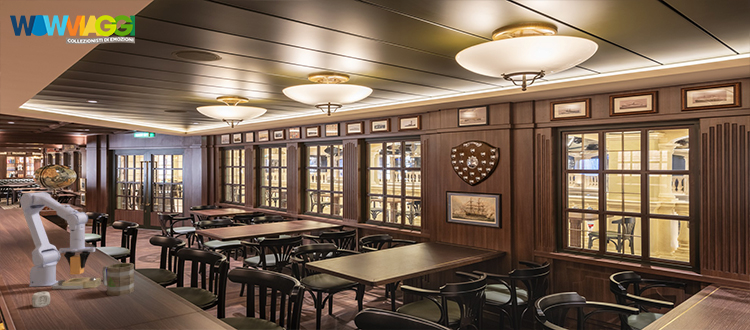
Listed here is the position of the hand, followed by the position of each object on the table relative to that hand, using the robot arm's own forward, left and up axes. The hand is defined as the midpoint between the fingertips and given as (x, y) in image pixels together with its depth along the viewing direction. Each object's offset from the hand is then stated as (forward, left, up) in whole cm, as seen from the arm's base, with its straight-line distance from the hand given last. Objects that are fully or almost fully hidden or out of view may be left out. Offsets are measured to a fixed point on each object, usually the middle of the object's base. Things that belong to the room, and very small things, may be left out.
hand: (77, 267), depth 204 cm
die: (-1, -27, -9) cm, 28 cm away
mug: (+21, -11, -9) cm, 25 cm away
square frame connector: (0, 0, -9) cm, 9 cm away
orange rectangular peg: (0, 0, -2) cm, 3 cm away
